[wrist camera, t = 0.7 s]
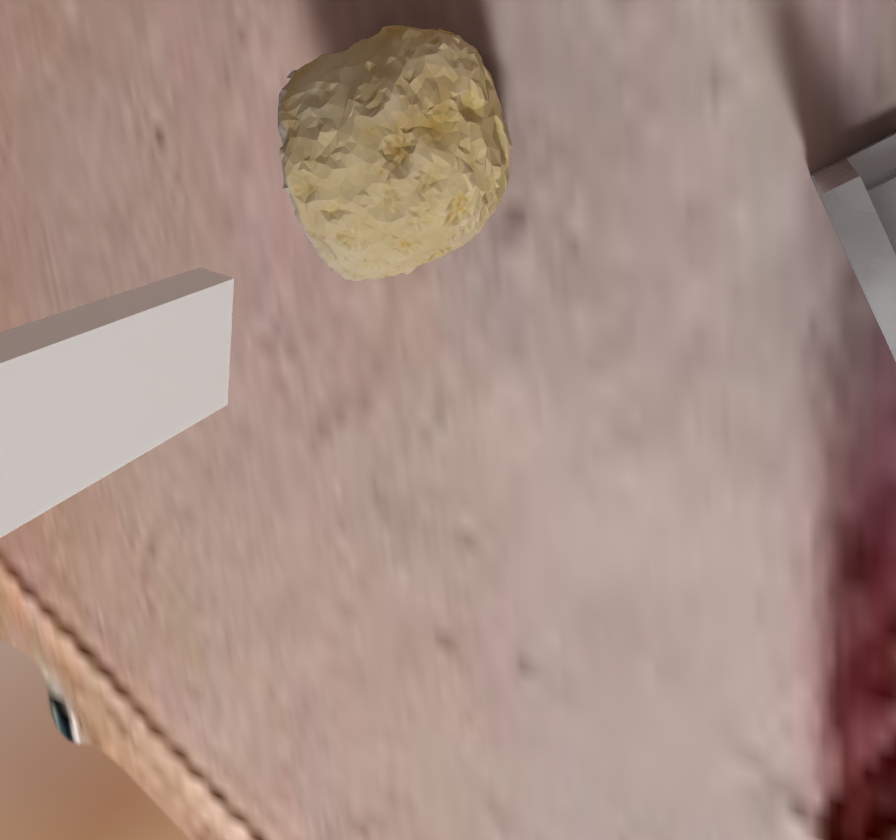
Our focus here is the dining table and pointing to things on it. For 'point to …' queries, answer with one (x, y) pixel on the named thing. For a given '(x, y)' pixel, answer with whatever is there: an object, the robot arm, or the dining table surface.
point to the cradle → (867, 222)
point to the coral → (393, 150)
